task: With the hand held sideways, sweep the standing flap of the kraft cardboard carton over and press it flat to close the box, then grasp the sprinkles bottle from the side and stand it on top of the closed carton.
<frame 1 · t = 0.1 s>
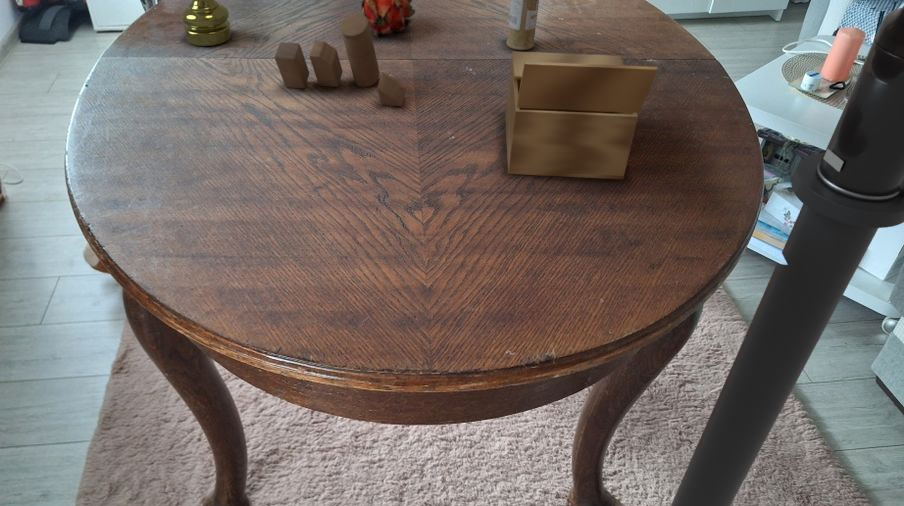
carton: (560, 145, 96), on the table
sprinkles bottle: (519, 46, 120), on the table
flap: (583, 88, 81), point 12 cm above the table, hinge at 115.0°
dragon fruit: (387, 31, 124), on the table
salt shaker: (209, 39, 121), on the table
wooden block set: (346, 89, 108), on the table
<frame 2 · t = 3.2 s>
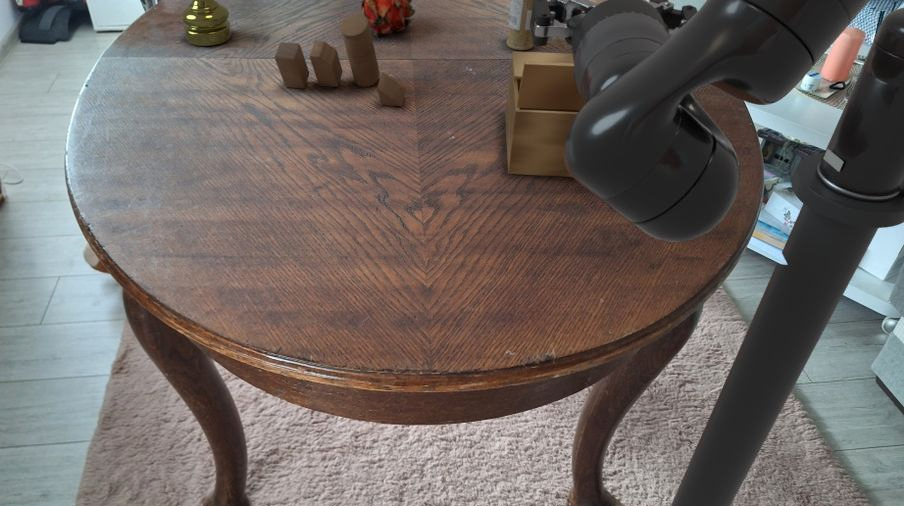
nothing on the table moved.
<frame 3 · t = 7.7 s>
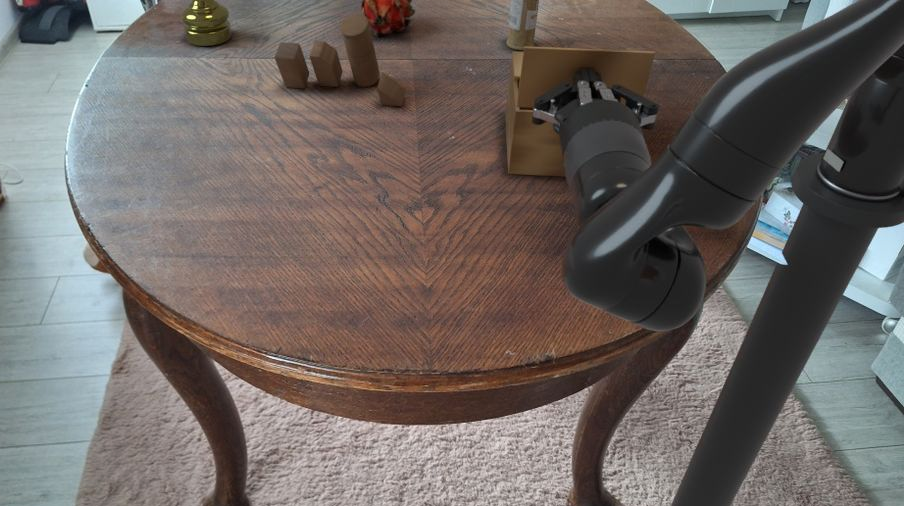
hand: (584, 75, 81), 14 cm above the table, tool horizontal, fingers closed
flap: (583, 80, 82), point 13 cm above the table, hinge at 94.8°, touching gripper
everything else where it was.
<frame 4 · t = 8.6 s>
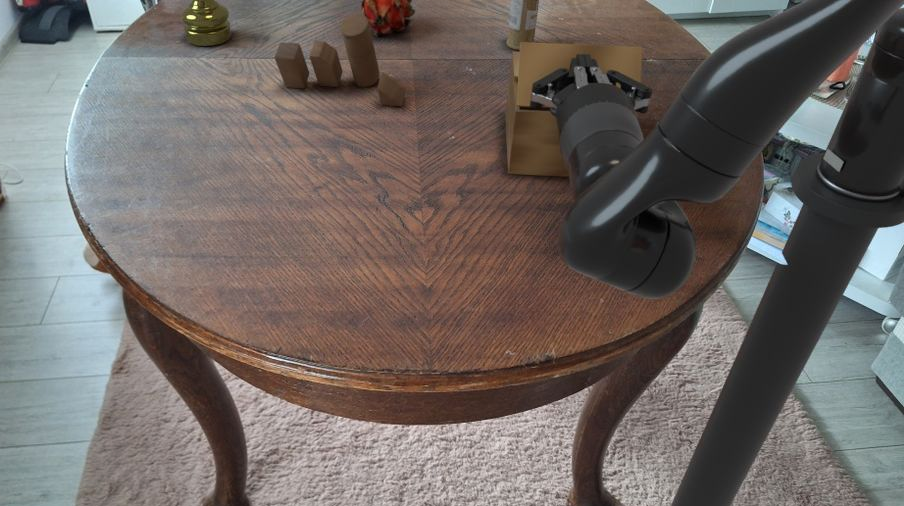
hand: (581, 62, 84), 13 cm above the table, tool horizontal, fingers closed
flap: (579, 76, 84), point 12 cm above the table, hinge at 48.0°, touching gripper
everything else where it was.
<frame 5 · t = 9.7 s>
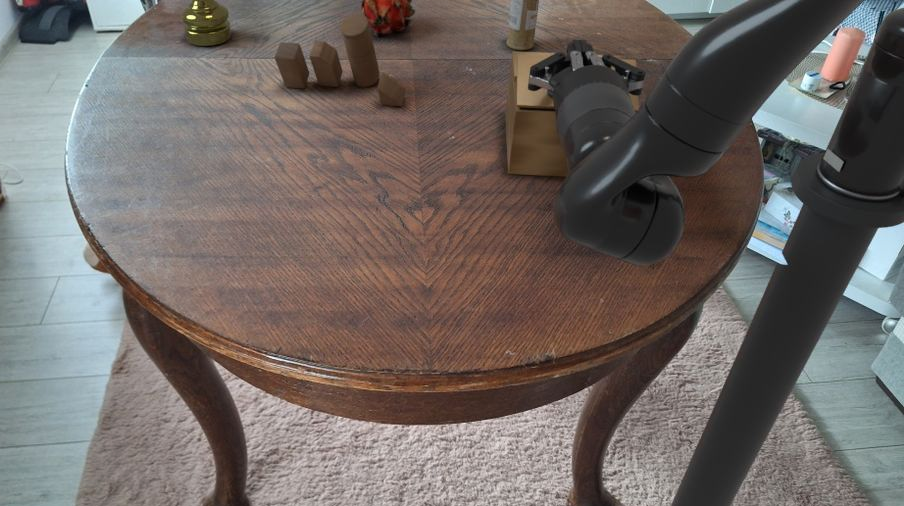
hand: (577, 47, 87), 14 cm above the table, tool horizontal, fingers closed
flap: (576, 83, 86), point 11 cm above the table, hinge at 25.2°, touching gripper
everything else where it was.
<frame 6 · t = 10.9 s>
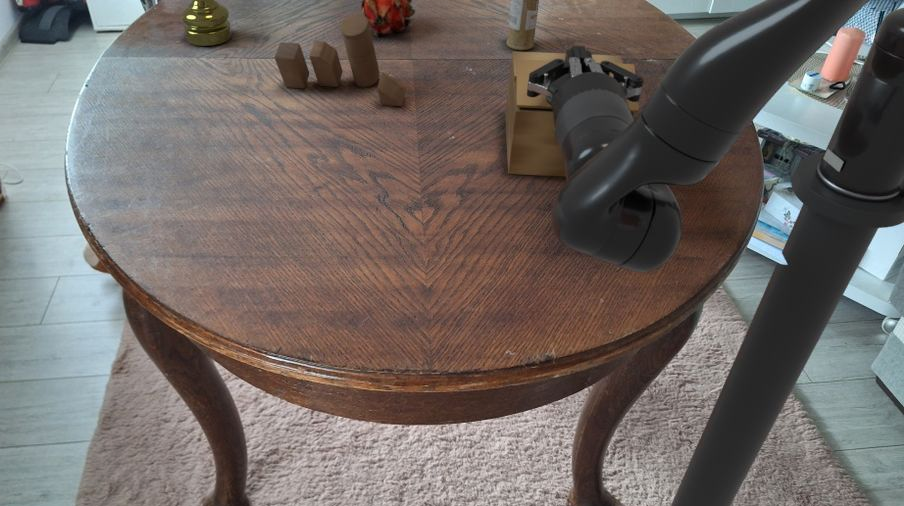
hand: (576, 53, 87), 13 cm above the table, tool horizontal, fingers closed
flap: (576, 85, 86), point 10 cm above the table, hinge at 19.4°, touching gripper
everything else where it was.
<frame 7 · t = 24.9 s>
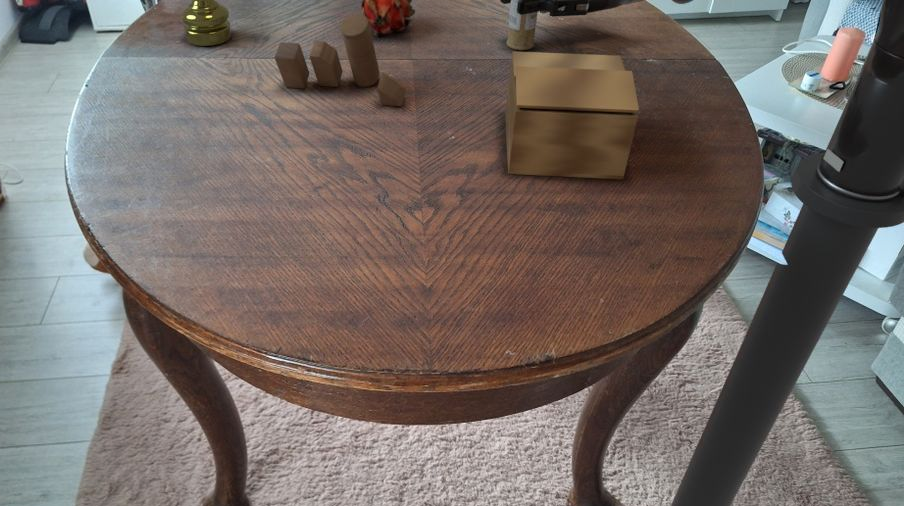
hand: (510, 1, 114), 8 cm above the table, tool horizontal, fingers closed on sprinkles bottle, 4 cm apart
sprinkles bottle: (519, 46, 120), on the table, touching gripper
flap: (575, 88, 87), point 10 cm above the table, hinge at 11.4°
everything else where it was.
when the fingers open (17 cm above the table, at t = 32.5 s): sprinkles bottle stays where it is, resting on carton.
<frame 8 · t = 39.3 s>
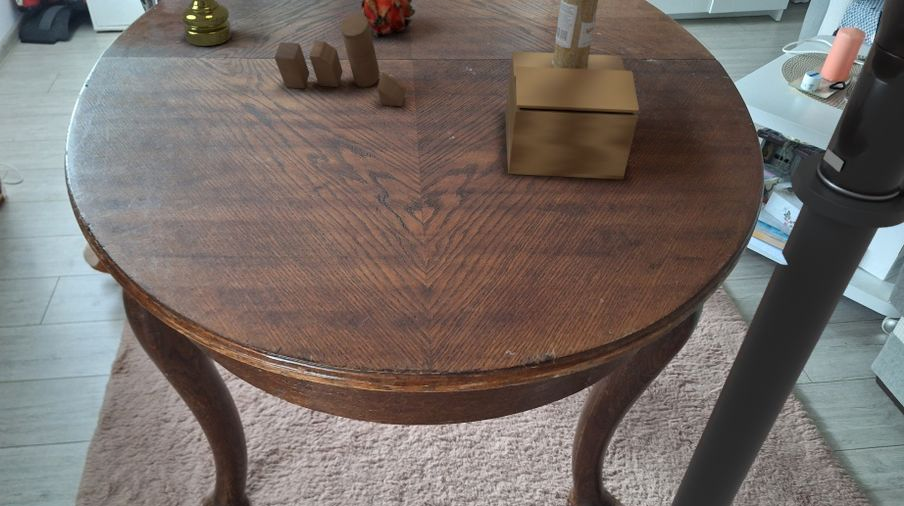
sprinkles bottle: (568, 68, 92), point 9 cm above the table, touching carton
everything else where it was.
at the end: flap at +11° (first picture: +115°); sprinkles bottle inside the target area in the carton (0.5 cm from its centre), point 9.1 cm above the carton's base; sprinkles bottle tilted 0° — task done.
